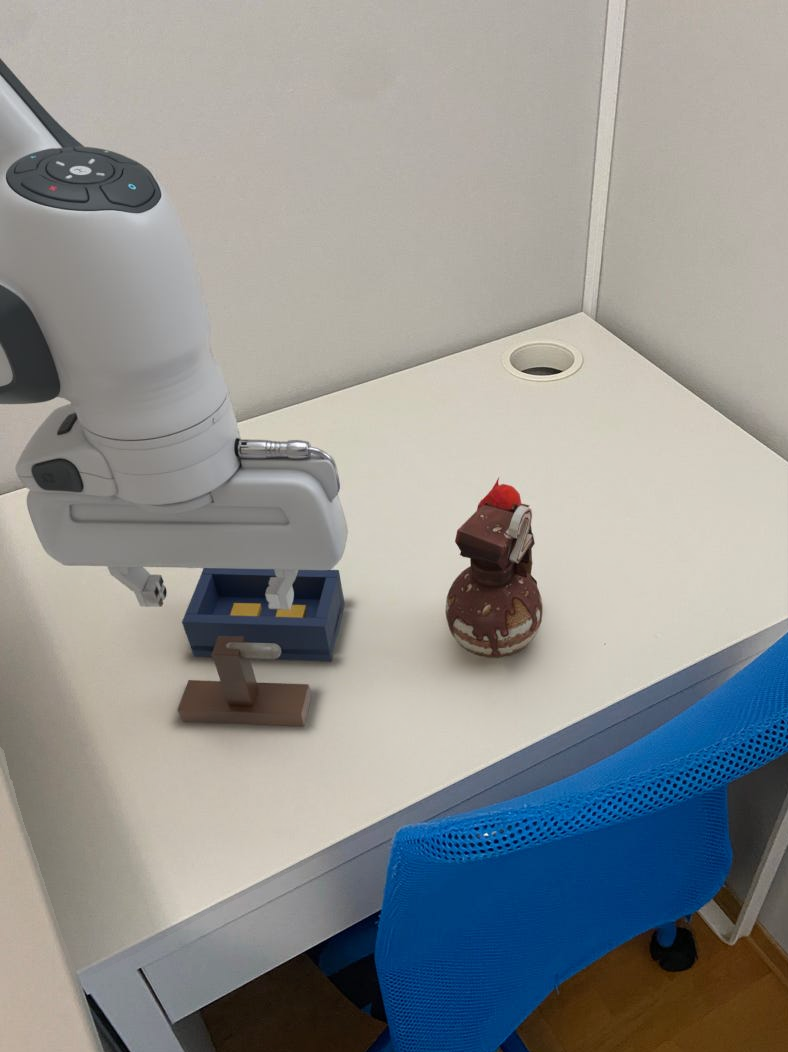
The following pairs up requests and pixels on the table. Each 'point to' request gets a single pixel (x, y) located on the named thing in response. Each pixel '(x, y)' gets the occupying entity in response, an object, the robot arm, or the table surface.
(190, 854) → the table surface
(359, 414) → the table surface
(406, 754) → the table surface
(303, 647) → the token holder
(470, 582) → the grenade
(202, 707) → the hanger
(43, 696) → the table surface
